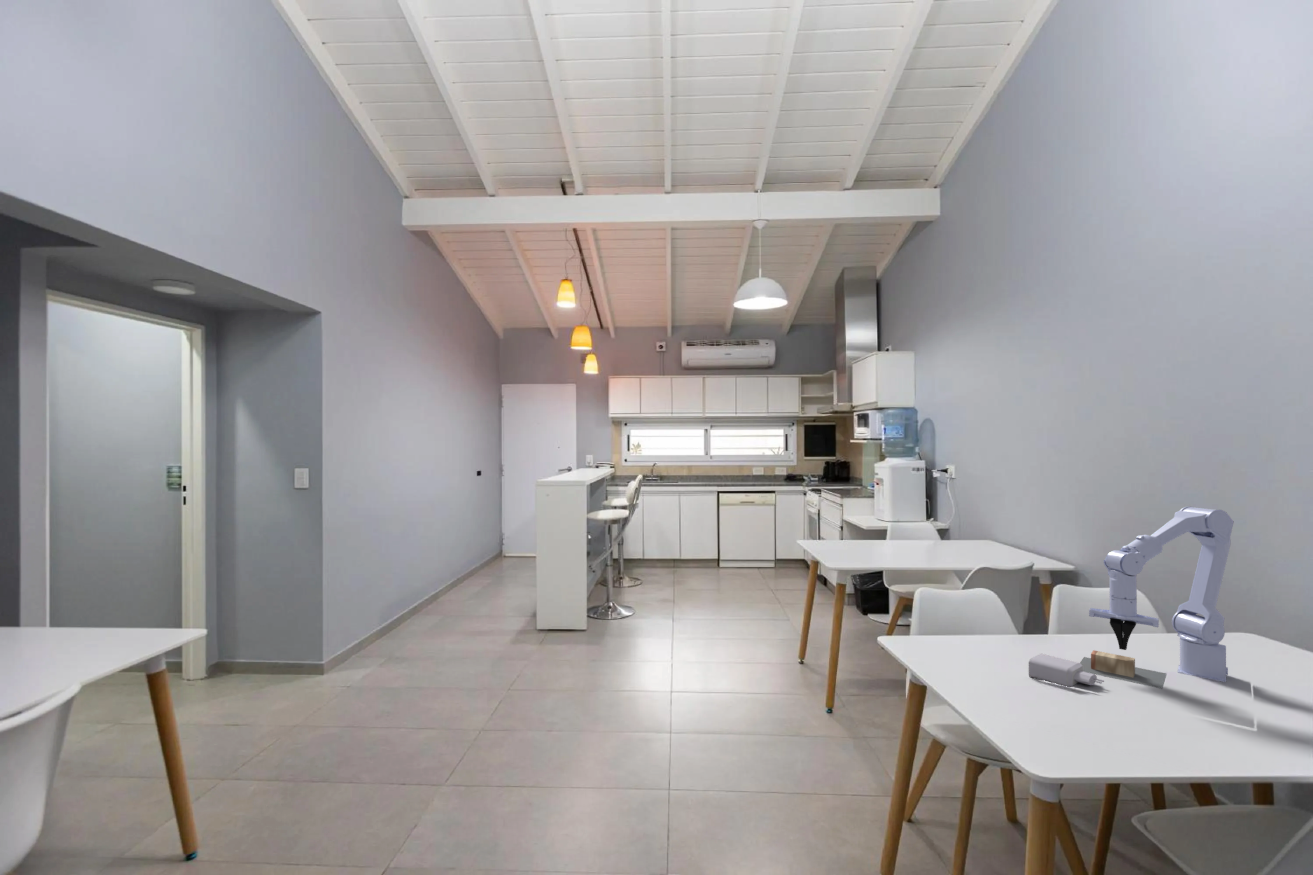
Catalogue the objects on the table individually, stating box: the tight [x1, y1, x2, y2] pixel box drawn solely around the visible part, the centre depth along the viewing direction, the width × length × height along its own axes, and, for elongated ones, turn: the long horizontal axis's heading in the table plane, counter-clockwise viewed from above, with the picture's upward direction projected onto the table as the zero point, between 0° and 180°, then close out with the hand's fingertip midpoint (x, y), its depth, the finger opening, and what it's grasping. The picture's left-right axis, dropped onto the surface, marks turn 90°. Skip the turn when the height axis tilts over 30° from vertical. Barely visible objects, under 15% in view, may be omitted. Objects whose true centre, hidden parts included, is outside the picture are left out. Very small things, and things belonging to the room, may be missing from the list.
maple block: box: [1090, 649, 1136, 677], centre depth 163 cm, size 4×4×9 cm
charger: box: [1028, 653, 1105, 688], centre depth 156 cm, size 5×9×15 cm
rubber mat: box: [1079, 656, 1167, 689], centre depth 162 cm, size 18×14×1 cm
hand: (1123, 648), depth 161 cm, fingers closed
